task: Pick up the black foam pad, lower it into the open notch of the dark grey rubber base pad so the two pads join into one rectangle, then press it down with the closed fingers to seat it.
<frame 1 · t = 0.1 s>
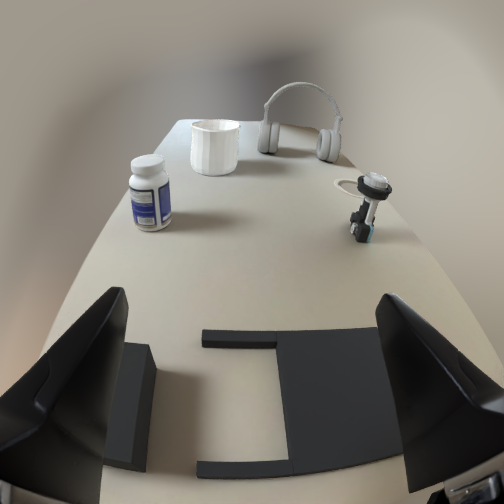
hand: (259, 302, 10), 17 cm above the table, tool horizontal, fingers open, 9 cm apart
foam pad: (116, 413, 20), on the table
pill bottle: (153, 223, 43), on the table
headphones: (296, 156, 72), on the table
base pad: (293, 400, 23), on the table
push button: (357, 232, 46), on the table
cup: (213, 168, 61), on the table
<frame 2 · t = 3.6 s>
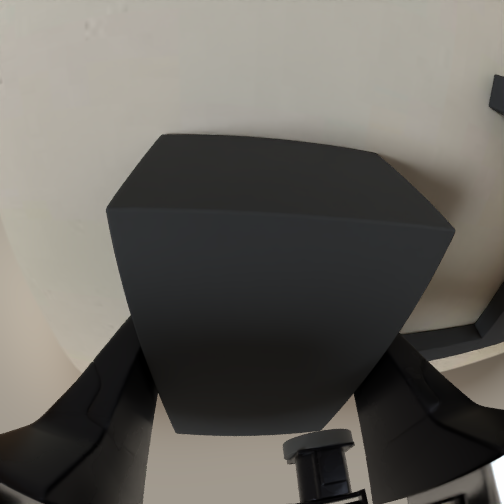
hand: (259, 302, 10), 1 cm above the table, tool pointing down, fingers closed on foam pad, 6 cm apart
foam pad: (256, 280, 10), on the table, touching gripper
when the fingers open (1 cm above the table, at t = 8.8 s): foam pad stays where it is, on the table.
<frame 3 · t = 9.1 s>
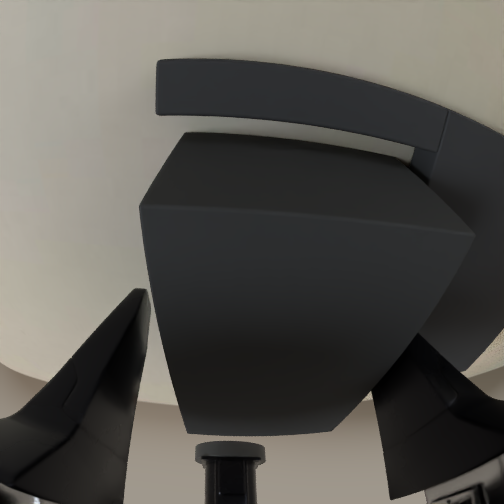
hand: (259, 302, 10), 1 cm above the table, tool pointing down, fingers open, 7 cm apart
foam pad: (273, 281, 10), on the table
base pad: (386, 284, 11), on the table
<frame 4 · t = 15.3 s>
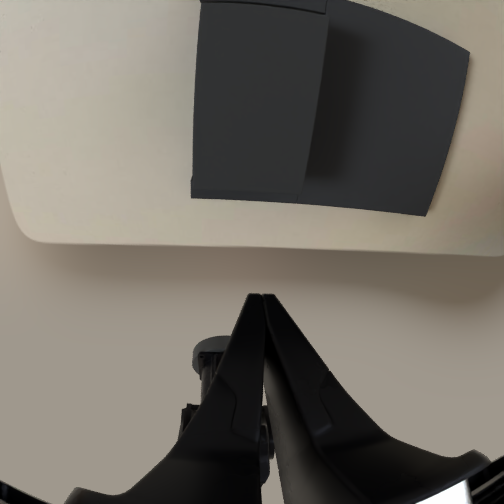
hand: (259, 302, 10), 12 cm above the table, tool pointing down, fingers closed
foam pad: (252, 91, 16), on the table
base pad: (324, 101, 17), on the table
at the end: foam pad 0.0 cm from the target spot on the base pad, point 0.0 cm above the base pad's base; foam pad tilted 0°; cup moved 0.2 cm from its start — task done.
